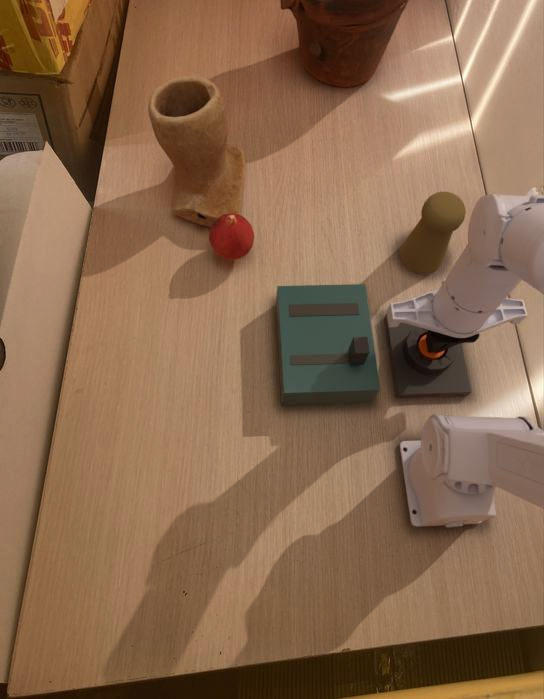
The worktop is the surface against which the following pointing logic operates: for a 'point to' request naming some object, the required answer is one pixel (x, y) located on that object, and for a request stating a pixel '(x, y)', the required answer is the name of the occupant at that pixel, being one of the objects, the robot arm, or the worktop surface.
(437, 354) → the button
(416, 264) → the olive pawn
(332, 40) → the brown plant pot
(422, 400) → the worktop surface
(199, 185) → the tan hollow curved piece
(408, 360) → the block
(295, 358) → the green slider box
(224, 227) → the onion
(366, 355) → the slider knob
